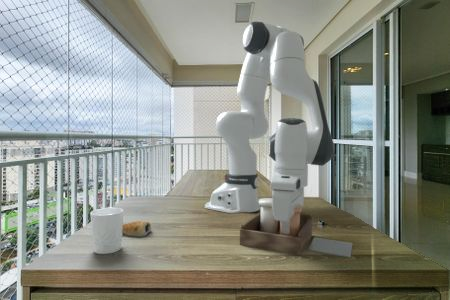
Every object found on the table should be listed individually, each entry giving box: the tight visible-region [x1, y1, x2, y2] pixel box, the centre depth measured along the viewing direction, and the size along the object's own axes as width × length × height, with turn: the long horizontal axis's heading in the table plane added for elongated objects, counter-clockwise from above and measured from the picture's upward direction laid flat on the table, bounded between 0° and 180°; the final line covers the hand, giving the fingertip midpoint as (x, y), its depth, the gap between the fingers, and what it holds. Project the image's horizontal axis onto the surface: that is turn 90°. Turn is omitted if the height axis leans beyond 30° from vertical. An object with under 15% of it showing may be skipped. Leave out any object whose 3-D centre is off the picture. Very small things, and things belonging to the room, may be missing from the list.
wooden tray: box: [239, 208, 313, 256], centre depth 83 cm, size 16×16×7 cm
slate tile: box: [307, 237, 354, 259], centre depth 78 cm, size 10×10×1 cm
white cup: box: [90, 207, 124, 255], centre depth 77 cm, size 8×8×10 cm
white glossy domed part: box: [258, 197, 278, 234], centre depth 87 cm, size 6×6×10 cm
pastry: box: [122, 220, 152, 238], centre depth 90 cm, size 9×7×4 cm
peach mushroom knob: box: [280, 205, 303, 237], centre depth 81 cm, size 6×6×10 cm
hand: (289, 229), depth 81 cm, fingers closed on peach mushroom knob, 6 cm apart
